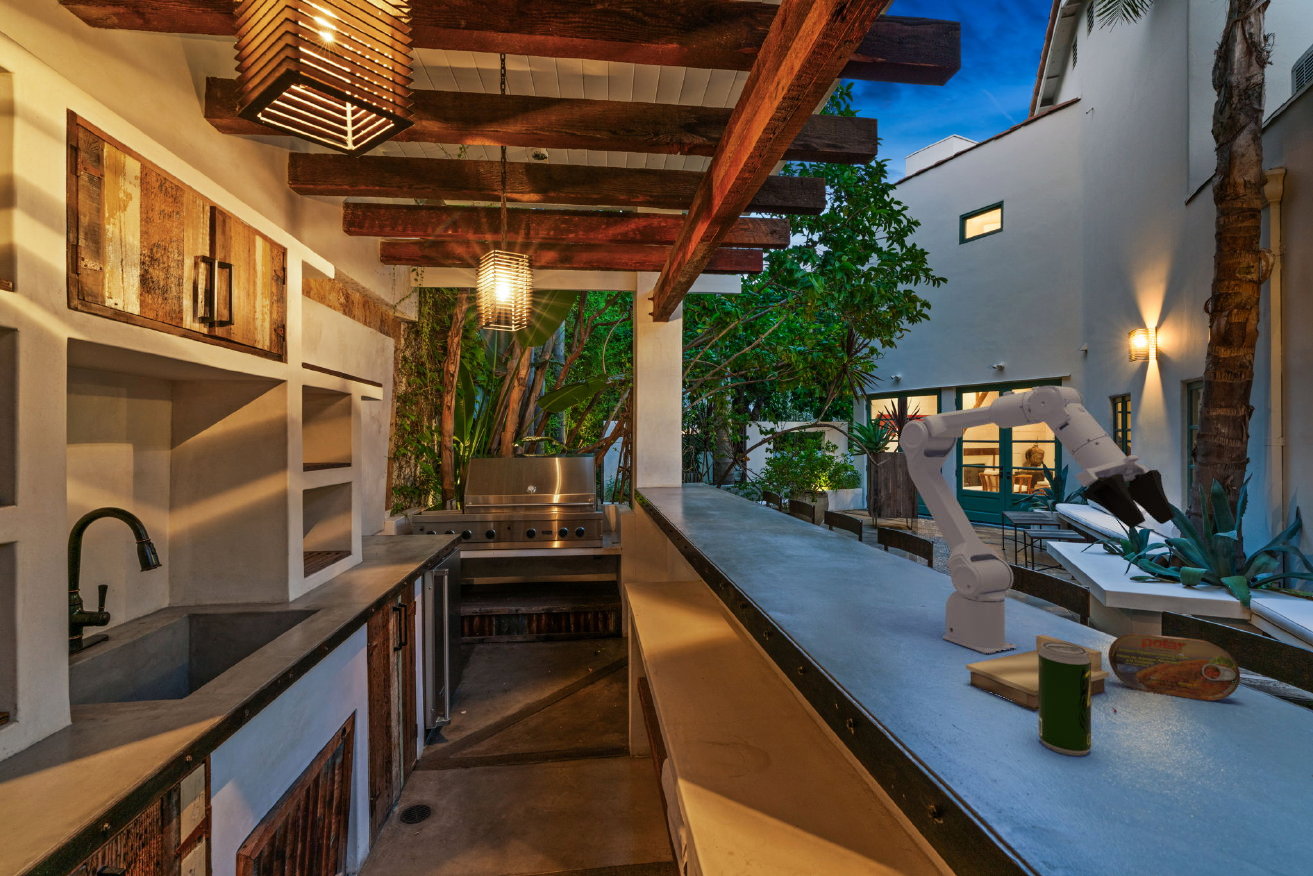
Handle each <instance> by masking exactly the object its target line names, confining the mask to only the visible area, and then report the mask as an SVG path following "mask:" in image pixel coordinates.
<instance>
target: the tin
mask: <svg viewBox="0 0 1313 876" xmlns="http://www.w3.org/2000/svg"><path fill="white" fill-rule="evenodd" d="M1107 655H1108V661H1109V665H1110V668H1111V670H1112V672H1113V673H1114V675H1115V677H1116V678H1118V680H1120V682H1121V683H1122V684H1124V685H1125V686H1126V687H1129V688H1130V689H1133V690H1136V691H1138V690H1139V691H1138V692H1143V693H1149V692H1153V693H1152V694H1156V693H1157V694H1156V695H1163V694H1166V696H1171V695H1173V696H1172V697H1177V698H1178V697H1179V698H1184V699H1191V700H1198V701H1199V700H1200V701H1209V702H1214V701H1219V700H1223V699H1225V698H1227V697H1229V696H1231V695H1232V694H1233V693H1234V692H1236V690H1237V689H1238V687H1239V685H1240V683H1241V682H1240V681H1241V671H1240V669H1239V665H1238V663H1237V662H1236V659H1234V658H1233V656H1231V654H1230V653H1229V652H1228V651H1226V650H1225V649H1223V648H1221V647H1220V646H1218V645H1216V644H1213V643H1212V642H1211V643H1210V642H1209V641H1206V640H1203V639H1197V638H1187V637H1178V636H1177V637H1176V636H1170V635H1169V636H1167V635H1160V634H1159V635H1158V634H1147V633H1141V632H1140V633H1139V632H1132V633H1125V634H1122V635H1121V636H1119V637H1117V638H1115V640H1114V641H1113V642H1112V643H1111V644H1110V646H1109V649H1108V654H1107ZM1219 677H1220V678H1219ZM1232 681H1233V682H1232ZM1237 683H1238V684H1237Z"/></svg>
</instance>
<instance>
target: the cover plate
mask: <svg viewBox="0 0 1313 876" xmlns="http://www.w3.org/2000/svg"><path fill="white" fill-rule="evenodd" d="M1035 640H1036V643H1035V645H1036V647H1035V650H1032V651H1026V652H1020V653H1017V654H1016V653H1015V654H1012V655H1011V654H1010V655H1006V656H1001V657H996V658H992V659H988V660H983V661H978V662H974V663H968V664H966V668H965V669H966V670H968V671H969V672H971V671H972V672H975V673H977V674H980V675H982V676H985V677H987V678H990V679H992V680H995V681H998V682H1000V683H1003V684H1005V685H1008V686H1010V687H1013V688H1015V689H1018V690H1021V691H1023V692H1026V693H1028V694H1031V695H1033V696H1036V695H1039V694H1038V652H1039V650H1040V649H1041V647H1040V644H1041V643H1044V642H1061V643H1067V644H1072V645H1076V646H1079V647H1082V648H1084V649H1086V650H1087V651H1088V652H1089V655H1088V657H1089V658H1090V660H1091V682H1092V681H1096V680H1099V679H1103V678H1104V679H1108V678H1109V677H1110V672H1109V671H1105V670H1103V669H1102V668H1103V667H1102V666H1103V664H1102V663H1103V661H1102V660H1103V659H1102V657H1103V656H1102V655H1103V654H1102V653H1103V652H1102V651H1100V650H1097V649H1094V648H1093V649H1092V648H1089V647H1086V646H1082V645H1079V644H1076V643H1073V642H1069V641H1066V640H1062V639H1059V638H1056V637H1051V636H1049V635H1046V634H1039V635H1036V636H1035Z"/></svg>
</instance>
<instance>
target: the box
mask: <svg viewBox="0 0 1313 876" xmlns="http://www.w3.org/2000/svg"><path fill="white" fill-rule="evenodd" d="M969 672H970V686H972V687H975V688H978V689H980V688H981V689H980V690H982V689H983V690H982V691H984V690H986V691H985V692H987V691H988V692H987V693H989V692H992V693H993V694H992V693H991V694H992V695H994V694H997V695H1000V696H1002V697H1005V698H1007V699H1009V700H1012V701H1013V702H1015V703H1014V704H1016V703H1017V704H1016V705H1018V704H1020V705H1021V707H1023V706H1024V707H1023V708H1025V707H1026V708H1025V709H1028V710H1030V711H1033V712H1034V711H1039V695H1036V696H1033V695H1031V694H1028V693H1026V692H1023V691H1021V690H1018V689H1015V688H1013V687H1010V686H1008V685H1005V684H1003V683H1000V682H998V681H995V680H992V679H990V678H987V677H985V676H982V675H980V674H977V673H975V672H972V671H969ZM1105 687H1106V685H1105V678H1103V679H1099V680H1096V681H1092V682H1091V696H1095V695H1098V694H1102V693H1105V692H1106V691H1105ZM1013 702H1012V703H1013ZM1020 705H1019V706H1020Z"/></svg>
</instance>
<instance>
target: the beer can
mask: <svg viewBox="0 0 1313 876" xmlns="http://www.w3.org/2000/svg"><path fill="white" fill-rule="evenodd" d="M1076 645H1077V644H1076ZM1076 645H1072V644H1067V643H1061V642H1044V643H1041V644H1040V647H1041V649H1040V650H1039V652H1038V694H1039V710H1038V736H1039V739H1040V741H1041V743H1042V744H1043V745H1044V746H1045V747H1046V748H1047V749H1049V750H1051V751H1053V752H1056V753H1059V754H1061V755H1065V756H1073V757H1081V756H1082V757H1083V756H1086V755H1088V753H1089V751H1090V750H1091V748H1092V695H1091V660H1090V658H1089V657H1088V655H1089V652H1088V651H1087V650H1086V649H1084V648H1082V647H1079V646H1076Z"/></svg>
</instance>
